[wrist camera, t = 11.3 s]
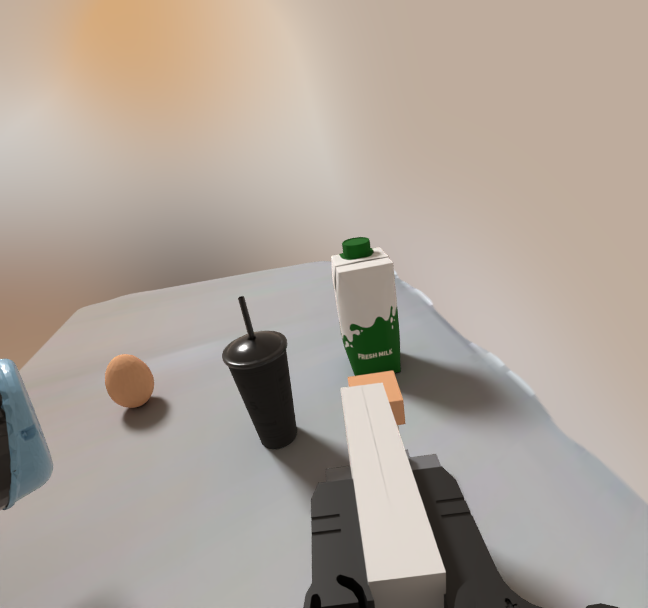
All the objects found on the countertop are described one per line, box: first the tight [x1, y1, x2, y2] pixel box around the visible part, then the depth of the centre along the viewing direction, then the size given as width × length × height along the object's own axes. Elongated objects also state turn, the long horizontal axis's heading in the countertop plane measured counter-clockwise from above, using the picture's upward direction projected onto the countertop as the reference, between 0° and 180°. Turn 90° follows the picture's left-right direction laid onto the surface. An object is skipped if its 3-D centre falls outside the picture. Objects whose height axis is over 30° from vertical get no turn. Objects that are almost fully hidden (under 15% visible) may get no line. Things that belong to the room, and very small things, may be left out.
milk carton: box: [331, 237, 401, 376], centre depth 57 cm, size 9×9×20 cm
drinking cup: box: [222, 296, 297, 449], centre depth 46 cm, size 8×8×20 cm
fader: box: [348, 371, 405, 430], centre depth 34 cm, size 4×4×13 cm
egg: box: [105, 354, 154, 408], centre depth 60 cm, size 7×7×9 cm
